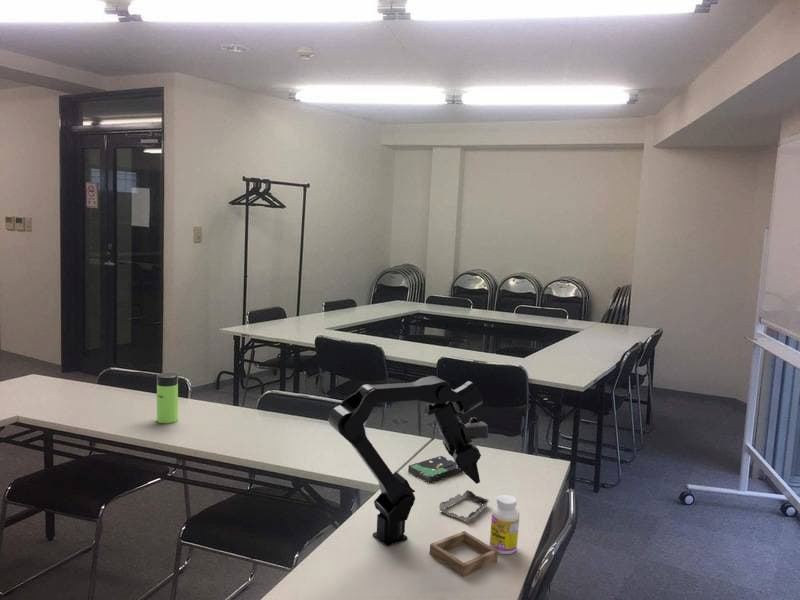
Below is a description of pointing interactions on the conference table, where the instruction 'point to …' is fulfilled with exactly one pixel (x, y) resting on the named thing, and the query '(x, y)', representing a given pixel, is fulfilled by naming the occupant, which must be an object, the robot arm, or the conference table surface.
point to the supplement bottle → (504, 525)
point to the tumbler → (167, 397)
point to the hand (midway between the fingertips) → (474, 477)
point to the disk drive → (434, 469)
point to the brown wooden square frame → (462, 568)
